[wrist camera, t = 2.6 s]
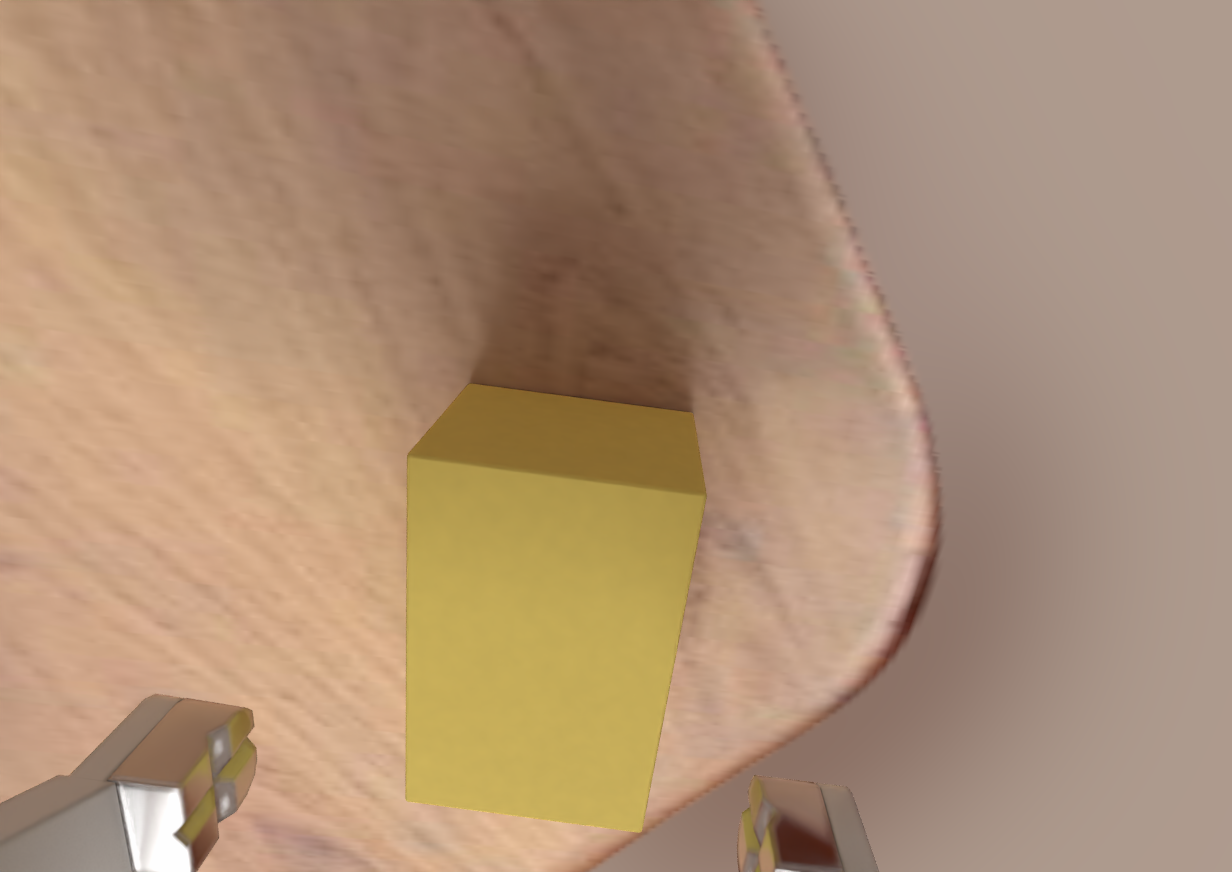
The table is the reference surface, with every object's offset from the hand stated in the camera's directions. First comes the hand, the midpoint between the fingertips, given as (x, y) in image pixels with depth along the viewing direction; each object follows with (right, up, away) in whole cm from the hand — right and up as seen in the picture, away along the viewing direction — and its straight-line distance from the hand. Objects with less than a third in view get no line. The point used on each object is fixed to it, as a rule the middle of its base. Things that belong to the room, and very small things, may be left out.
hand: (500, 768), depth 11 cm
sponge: (+1, +3, +5) cm, 6 cm away
